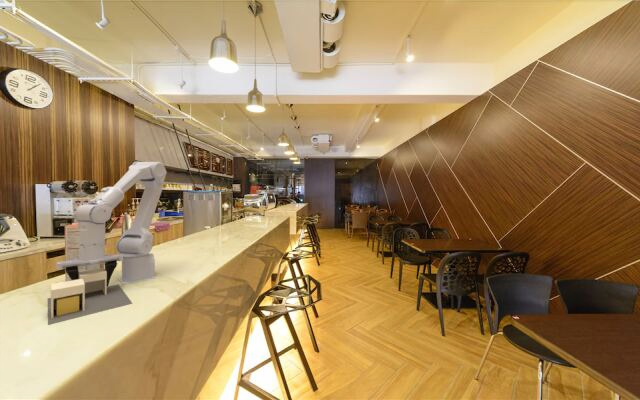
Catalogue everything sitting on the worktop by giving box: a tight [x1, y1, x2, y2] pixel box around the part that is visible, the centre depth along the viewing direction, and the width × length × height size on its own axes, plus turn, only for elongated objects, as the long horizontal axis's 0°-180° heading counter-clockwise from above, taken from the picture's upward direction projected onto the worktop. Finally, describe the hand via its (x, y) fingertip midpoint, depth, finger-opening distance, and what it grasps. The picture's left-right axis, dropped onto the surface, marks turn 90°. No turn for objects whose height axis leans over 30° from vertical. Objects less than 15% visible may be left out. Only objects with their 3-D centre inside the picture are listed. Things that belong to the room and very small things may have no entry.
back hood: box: [78, 267, 107, 295], centre depth 74 cm, size 6×6×7 cm
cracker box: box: [64, 222, 105, 282], centre depth 85 cm, size 14×6×21 cm, turn 23°
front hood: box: [50, 279, 85, 319], centre depth 64 cm, size 6×6×7 cm
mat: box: [47, 284, 133, 326], centre depth 70 cm, size 16×20×1 cm
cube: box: [56, 294, 79, 316], centre depth 64 cm, size 4×4×4 cm
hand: (92, 288), depth 74 cm, fingers closed on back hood, 6 cm apart
